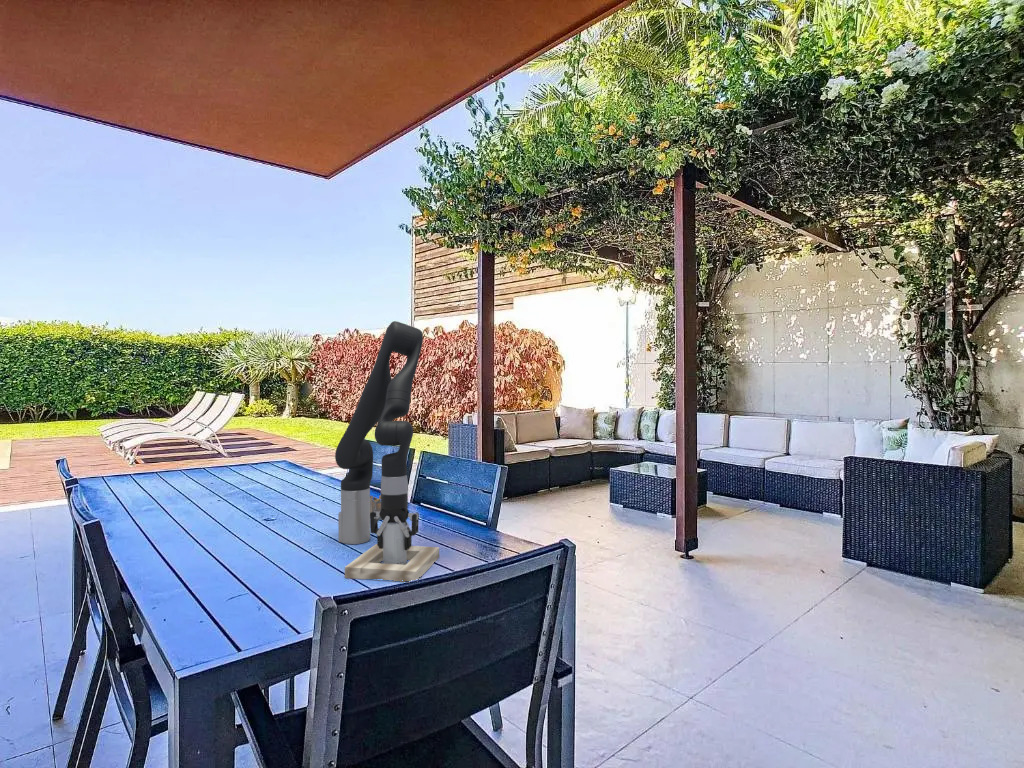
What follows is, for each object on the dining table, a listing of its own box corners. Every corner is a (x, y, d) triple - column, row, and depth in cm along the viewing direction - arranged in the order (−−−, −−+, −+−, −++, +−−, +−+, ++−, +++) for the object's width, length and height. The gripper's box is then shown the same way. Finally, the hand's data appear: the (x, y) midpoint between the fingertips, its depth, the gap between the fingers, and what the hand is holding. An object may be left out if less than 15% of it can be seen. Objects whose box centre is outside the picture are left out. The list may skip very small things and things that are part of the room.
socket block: (344, 578, 155) (344, 567, 155) (376, 553, 176) (376, 543, 176) (415, 582, 152) (415, 571, 152) (439, 557, 172) (439, 547, 172)
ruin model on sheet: (383, 521, 215) (383, 495, 214) (376, 522, 213) (375, 496, 213) (373, 515, 224) (373, 490, 224) (365, 516, 222) (365, 491, 222)
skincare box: (407, 564, 163) (407, 522, 163) (394, 568, 160) (394, 525, 160) (394, 559, 168) (394, 518, 167) (381, 563, 164) (381, 521, 164)
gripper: (364, 492, 161) (365, 551, 161) (414, 494, 158) (414, 554, 159) (375, 487, 168) (375, 543, 169) (422, 489, 166) (422, 546, 166)
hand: (394, 548), depth 164 cm, fingers closed on skincare box, 7 cm apart
